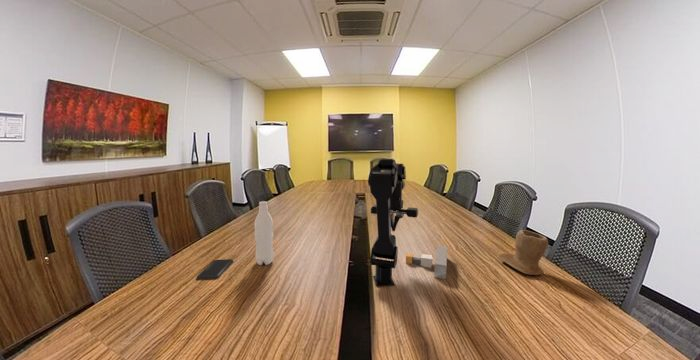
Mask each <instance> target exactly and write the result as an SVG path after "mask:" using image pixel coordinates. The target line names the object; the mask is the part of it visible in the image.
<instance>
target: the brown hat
mask: <svg viewBox="0 0 700 360" xmlns="http://www.w3.org/2000/svg"><path fill="white" fill-rule="evenodd" d="M514 245H515V254H514V253H510V252H507V253H506V252H503V253H500V254H498V255H497V258H498V259H499V260H501V261H502V262H504V263H506V265H508V266H510V267H511V268H513V269H515V270H516V271H519V272H521V273H522V274H525V275H531V276H538V275H543V274H544V273H545V272H544V270H543V269H542V268H541V267H540V265H539V263H540V260H541V259H542V257H543V256H544V255H545V252H546V250H547V249H548V246H549V239H548V238H547V237H546V236H544V235H542V234H539V233H536V232H533V231H530V230H527V229H526V230H525V229H520V230H519V231H518V232H517V233H516V236H515V243H514Z"/></svg>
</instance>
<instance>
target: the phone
mask: <svg viewBox="0 0 700 360" xmlns="http://www.w3.org/2000/svg"><path fill="white" fill-rule="evenodd" d="M233 263H234V259H233V258H232V259H229V258H228V259H214V260H213V261H211V262H210V263H209V264H208V265H206V267H205V268H204V269H203V270H202V271H201V272H199V273H198V274H197V275H196V280H216V279H220V278H221V276H222V275H223V274H224V273H225V272H226V271H227V270H228V269H229V268H230V266H231V265H232V264H233Z"/></svg>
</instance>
